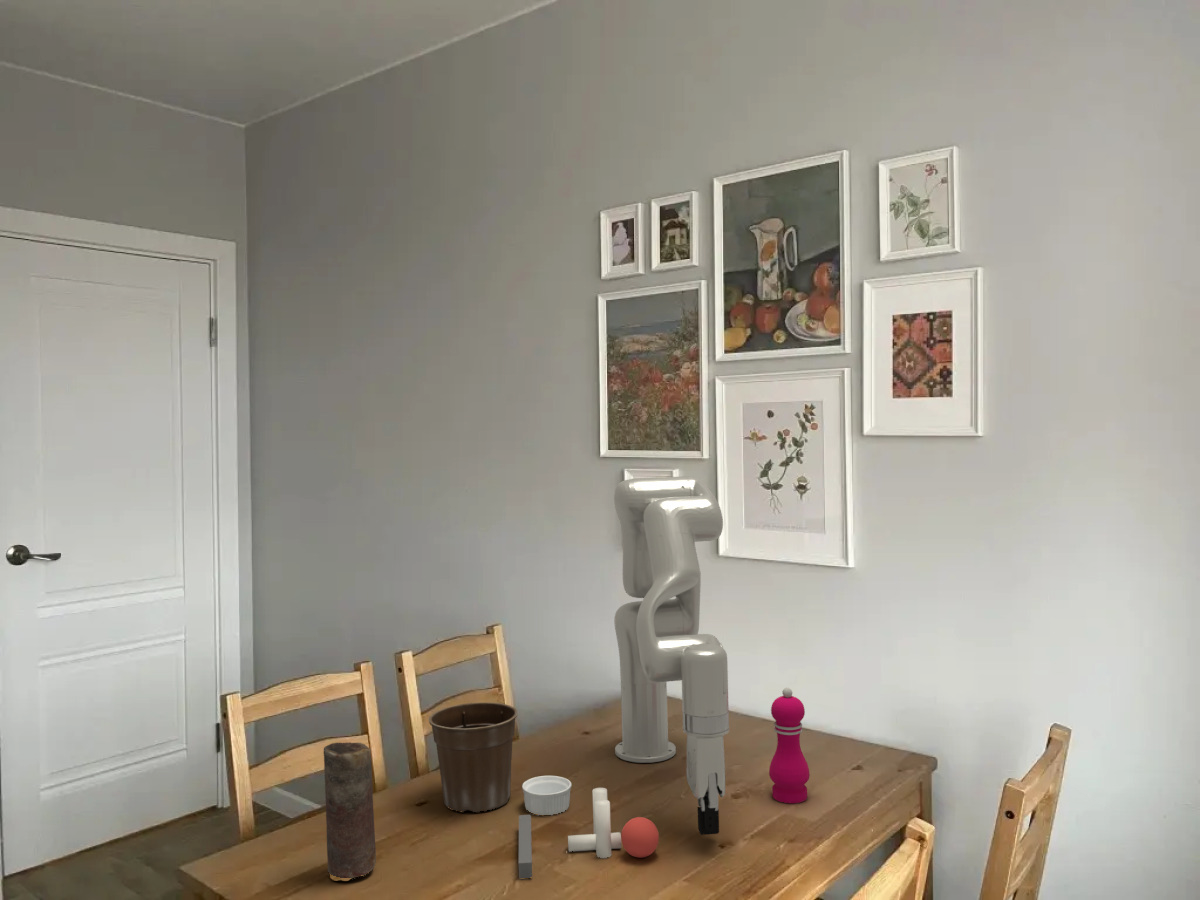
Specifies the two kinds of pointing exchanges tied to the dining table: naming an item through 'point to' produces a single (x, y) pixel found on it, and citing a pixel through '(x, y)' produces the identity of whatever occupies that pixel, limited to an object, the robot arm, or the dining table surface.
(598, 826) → the pin
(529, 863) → the gray square bar
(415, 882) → the dining table surface
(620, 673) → the robot arm
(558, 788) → the ramekin
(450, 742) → the plant pot
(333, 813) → the candle
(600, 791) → the pin
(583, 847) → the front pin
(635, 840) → the ball
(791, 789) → the pepper mill
